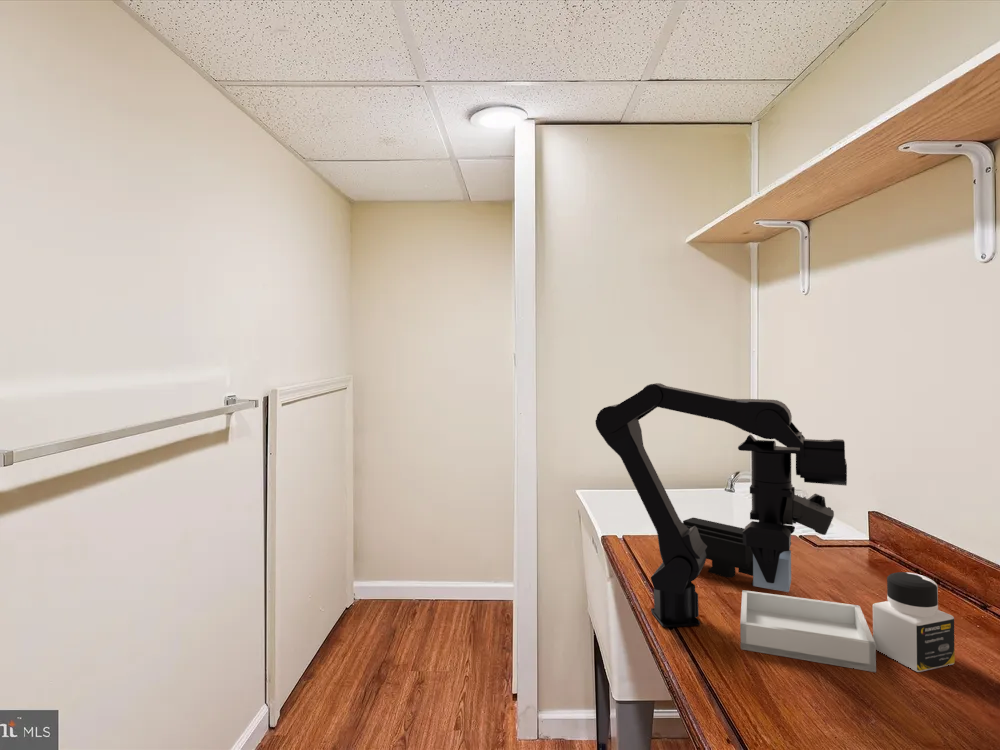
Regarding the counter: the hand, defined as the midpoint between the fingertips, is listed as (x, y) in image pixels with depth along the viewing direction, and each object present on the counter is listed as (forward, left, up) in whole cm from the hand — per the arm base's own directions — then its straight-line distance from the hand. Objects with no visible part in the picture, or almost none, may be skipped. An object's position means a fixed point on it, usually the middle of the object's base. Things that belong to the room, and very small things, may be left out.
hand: (772, 576), depth 89 cm
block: (0, 0, -1) cm, 1 cm away
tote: (+4, -1, -10) cm, 11 cm away
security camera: (+5, +26, -10) cm, 29 cm away
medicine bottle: (+17, -8, -10) cm, 21 cm away
